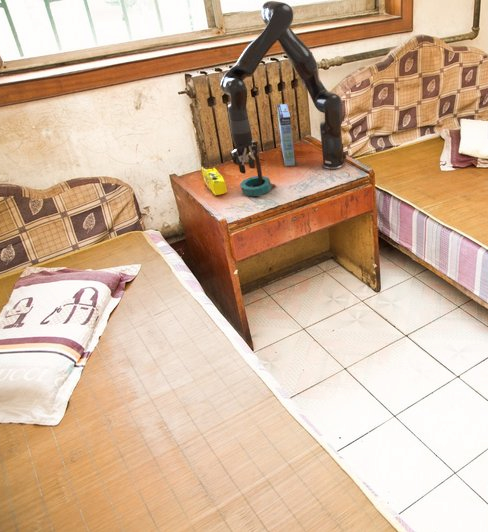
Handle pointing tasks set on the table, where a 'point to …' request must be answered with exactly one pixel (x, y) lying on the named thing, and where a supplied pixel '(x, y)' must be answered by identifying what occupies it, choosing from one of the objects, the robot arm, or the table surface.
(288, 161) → the gum box
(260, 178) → the brown peg stand
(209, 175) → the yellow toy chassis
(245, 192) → the teal ring
